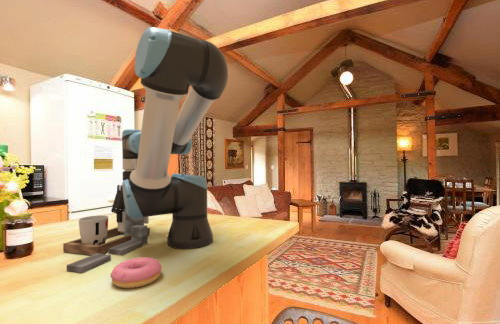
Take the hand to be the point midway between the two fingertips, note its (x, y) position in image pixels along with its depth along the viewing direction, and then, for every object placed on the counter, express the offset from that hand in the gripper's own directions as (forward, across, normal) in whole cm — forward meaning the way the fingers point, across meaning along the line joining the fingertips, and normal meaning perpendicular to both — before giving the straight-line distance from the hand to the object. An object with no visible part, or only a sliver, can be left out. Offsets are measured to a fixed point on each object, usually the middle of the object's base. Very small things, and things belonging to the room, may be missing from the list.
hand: (134, 227), depth 101 cm
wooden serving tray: (+3, +11, 0) cm, 11 cm away
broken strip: (+3, +20, +10) cm, 23 cm away
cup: (+3, +18, 0) cm, 18 cm away
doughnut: (+3, +32, +29) cm, 43 cm away
